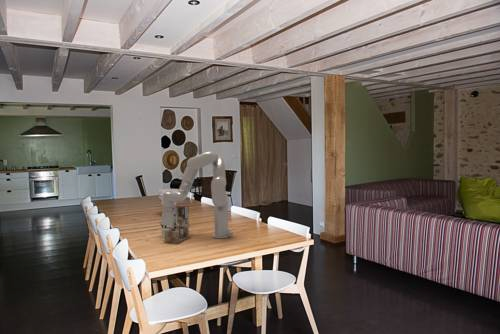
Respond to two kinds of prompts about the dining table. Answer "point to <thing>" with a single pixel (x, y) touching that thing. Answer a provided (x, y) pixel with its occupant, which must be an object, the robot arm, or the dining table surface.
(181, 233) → the peg stand
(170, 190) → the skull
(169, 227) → the grey green block
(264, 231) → the dining table surface
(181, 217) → the coffee box
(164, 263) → the dining table surface
